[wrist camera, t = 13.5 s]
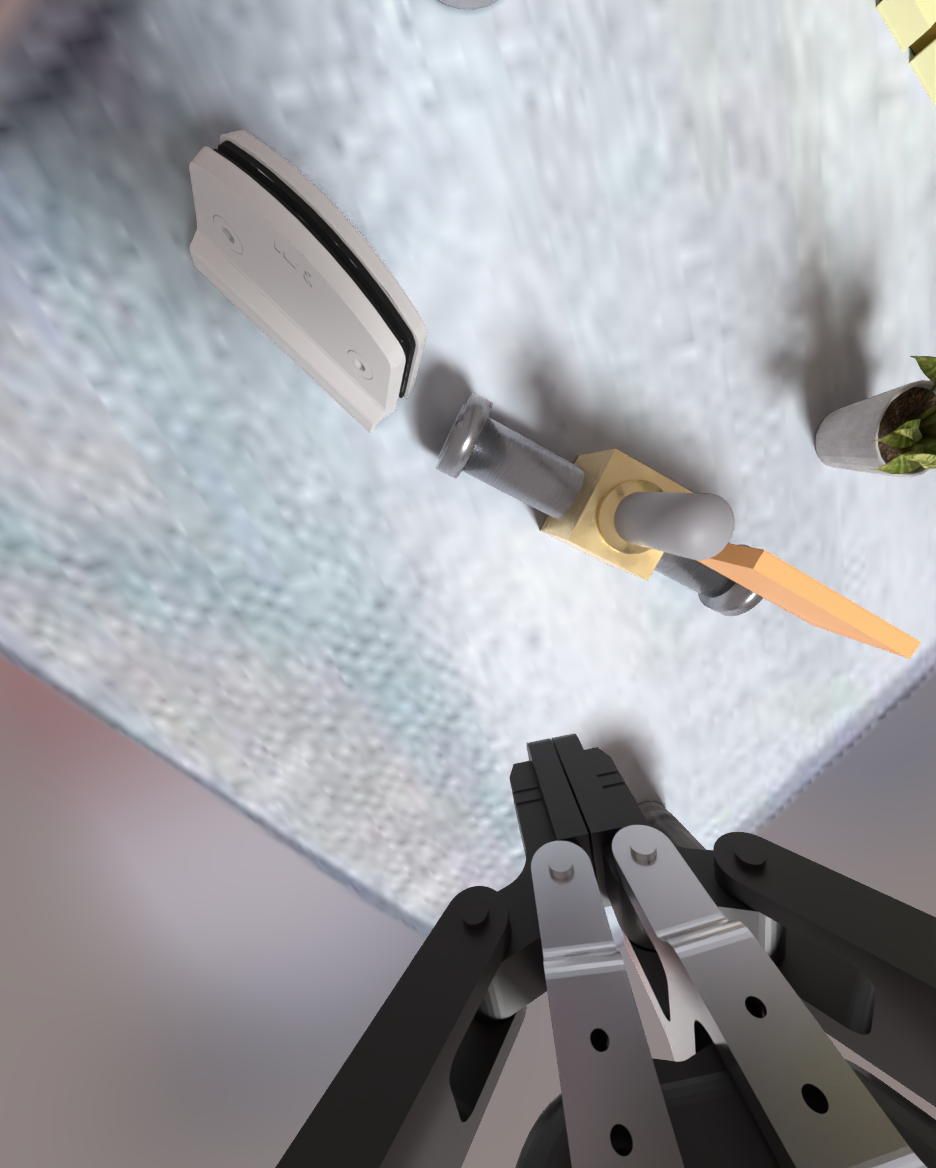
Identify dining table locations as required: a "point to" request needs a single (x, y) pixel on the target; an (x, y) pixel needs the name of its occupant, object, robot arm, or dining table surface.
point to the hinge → (304, 276)
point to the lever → (747, 563)
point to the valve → (579, 499)
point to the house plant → (885, 430)
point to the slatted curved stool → (915, 35)
